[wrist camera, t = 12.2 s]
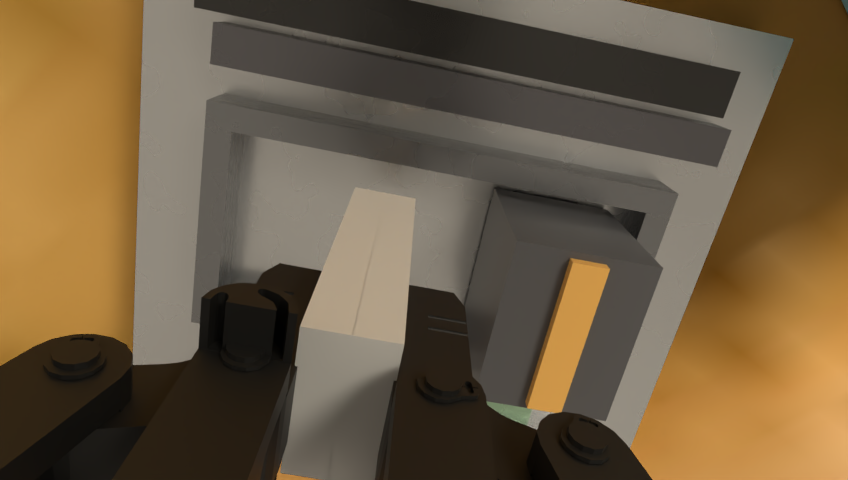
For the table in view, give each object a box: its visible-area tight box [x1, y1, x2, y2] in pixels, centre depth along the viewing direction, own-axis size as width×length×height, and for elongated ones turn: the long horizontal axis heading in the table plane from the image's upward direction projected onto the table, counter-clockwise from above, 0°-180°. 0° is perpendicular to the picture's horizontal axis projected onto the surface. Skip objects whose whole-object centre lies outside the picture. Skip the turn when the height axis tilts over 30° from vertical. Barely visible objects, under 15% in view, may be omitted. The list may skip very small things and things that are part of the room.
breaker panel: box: [133, 0, 794, 448], centre depth 21 cm, size 18×20×4 cm
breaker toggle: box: [465, 188, 663, 421], centre depth 19 cm, size 5×4×5 cm
